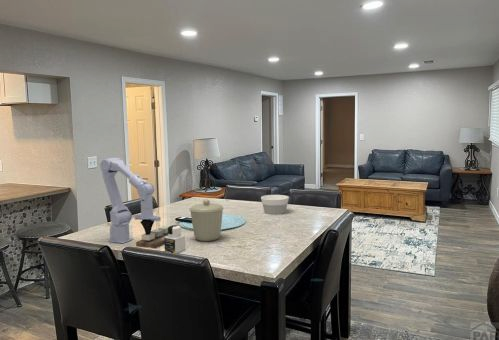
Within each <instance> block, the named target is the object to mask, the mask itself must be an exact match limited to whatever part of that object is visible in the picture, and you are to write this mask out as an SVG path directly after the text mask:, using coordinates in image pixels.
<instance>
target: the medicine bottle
mask: <svg viewBox="0 0 499 340" xmlns="http://www.w3.org/2000/svg"><path fill="white" fill-rule="evenodd" d="M167 227H168V235H169V236H166V237H164V245H163V246H164V252H166V251H168V252H167V253H170V252H174V253H173V254H175V253H176V254H178V253H181V252H183V251H185V250H186V235H184V234H182V229H181V227H182V226H180V225H177V224H174V225H170V226H167ZM180 234H181V235H180Z"/></svg>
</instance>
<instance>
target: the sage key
mask: <svg viewBox="0 0 499 340" xmlns="http://www.w3.org/2000/svg"><path fill="white" fill-rule="evenodd" d="M168 227H169V226H166V225H165V226H164V225H162V226H161V227H158V228H157V230H163V233H168Z"/></svg>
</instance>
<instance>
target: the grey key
mask: <svg viewBox="0 0 499 340" xmlns="http://www.w3.org/2000/svg"><path fill="white" fill-rule="evenodd" d="M151 233H155V237H158V236H161V235H163V230H158V228H157V229H156V228H155V229H153V230H151Z"/></svg>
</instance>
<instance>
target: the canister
mask: <svg viewBox="0 0 499 340" xmlns="http://www.w3.org/2000/svg"><path fill="white" fill-rule="evenodd" d="M224 209H225V207H224V206H222V205H221V204H219V203H212V202H210V200H209V199H207V198H206V199H203V201H202V203H198V204H194V205H192V206H190V208H189V209H188V210H189V212H190V217H191V223H192V230H193V235H194V238H195V239H196V240H197V241H201V242H212V241H217V240H218V239H219V238H220V236H221V234H222V226H223V225H222V224H223V223H222V222H223V210H224Z"/></svg>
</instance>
